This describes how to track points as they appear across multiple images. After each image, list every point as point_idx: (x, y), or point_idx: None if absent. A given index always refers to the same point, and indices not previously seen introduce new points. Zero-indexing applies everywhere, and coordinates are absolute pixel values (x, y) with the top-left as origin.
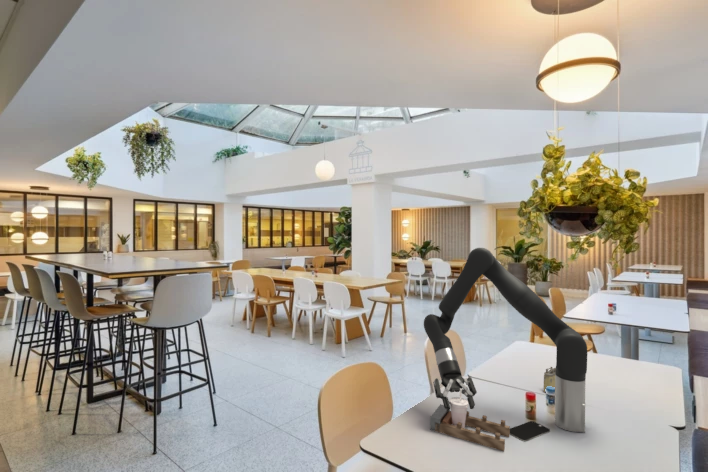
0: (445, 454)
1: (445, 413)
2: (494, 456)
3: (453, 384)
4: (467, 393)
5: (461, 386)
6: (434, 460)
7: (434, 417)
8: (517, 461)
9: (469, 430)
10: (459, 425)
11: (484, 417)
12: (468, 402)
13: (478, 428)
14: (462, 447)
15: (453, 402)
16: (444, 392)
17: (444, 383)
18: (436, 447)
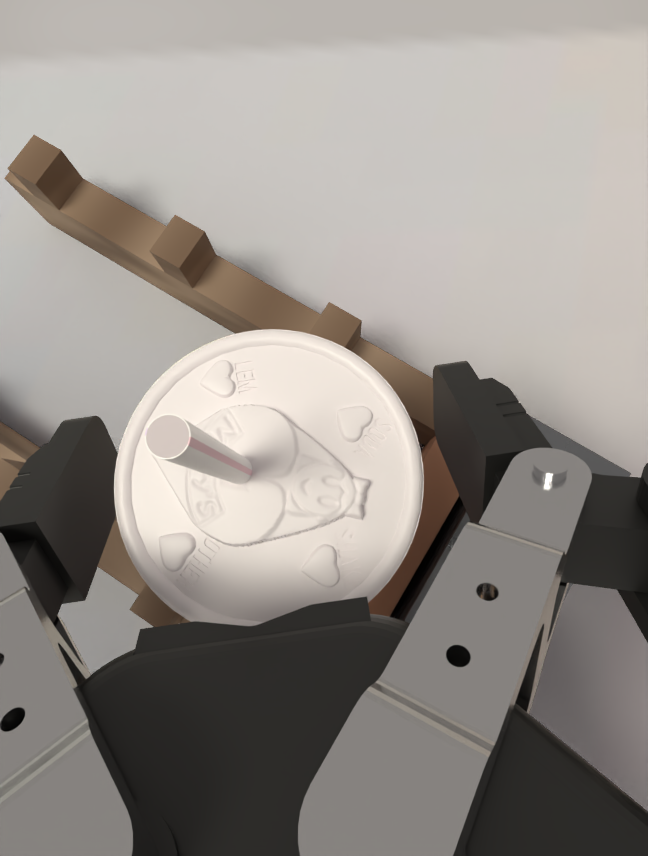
0: (500, 147)
1: (424, 581)
2: (163, 140)
3: (294, 756)
4: (28, 581)
5: (71, 676)
6: (590, 81)
7: (583, 451)
8: (38, 96)
9: (251, 304)
10: (338, 312)
11: (11, 467)
12: (100, 542)
13: (173, 240)
14: (352, 233)
15: (370, 436)
16: (572, 510)
17: (617, 789)
18: (551, 226)
